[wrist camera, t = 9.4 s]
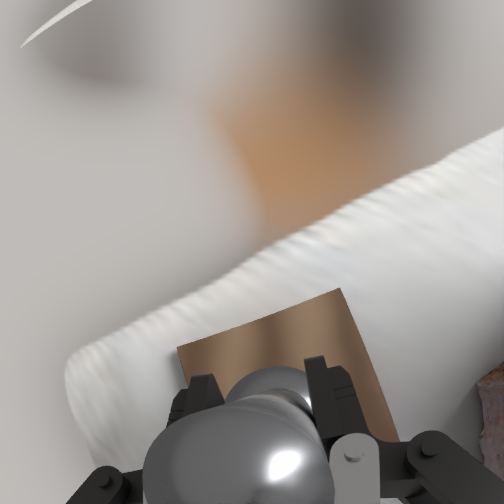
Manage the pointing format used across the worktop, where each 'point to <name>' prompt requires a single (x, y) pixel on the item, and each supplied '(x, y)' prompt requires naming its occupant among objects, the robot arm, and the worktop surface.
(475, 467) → the robot arm
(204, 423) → the round metal knob
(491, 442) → the food item
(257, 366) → the walnut board
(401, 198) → the worktop surface
